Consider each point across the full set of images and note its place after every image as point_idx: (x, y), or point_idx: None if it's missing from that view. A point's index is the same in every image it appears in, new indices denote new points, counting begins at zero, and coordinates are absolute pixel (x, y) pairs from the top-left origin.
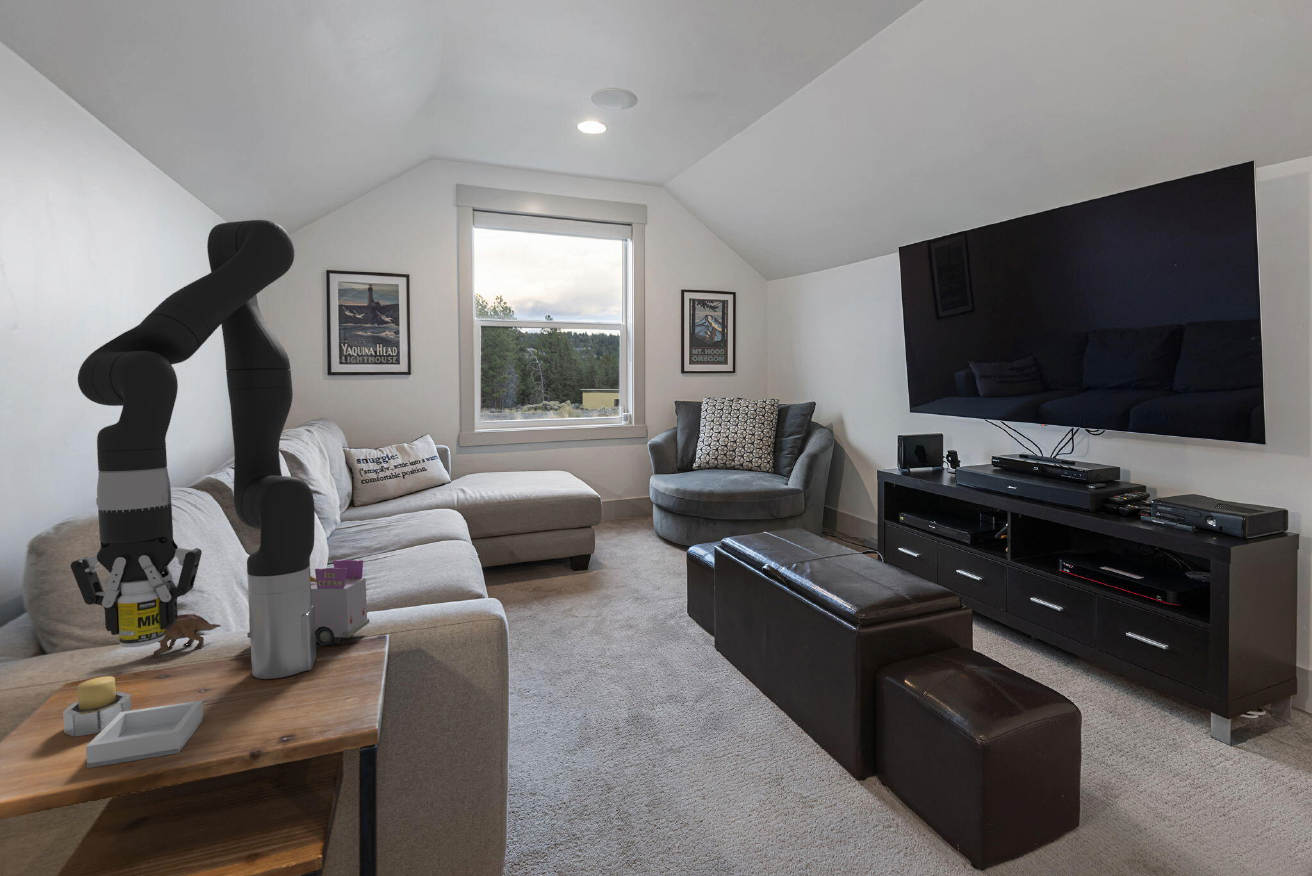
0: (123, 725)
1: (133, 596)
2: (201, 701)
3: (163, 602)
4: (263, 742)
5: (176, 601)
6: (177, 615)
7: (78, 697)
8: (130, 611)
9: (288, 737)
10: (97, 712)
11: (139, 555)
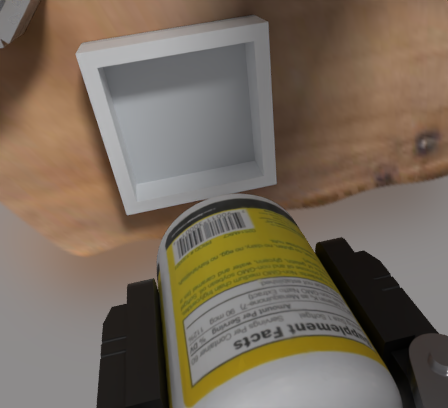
0: (102, 74)
1: None
2: (268, 30)
3: None
4: (392, 151)
5: (429, 330)
6: (383, 269)
7: None
8: None
9: (428, 141)
10: (2, 43)
11: None
